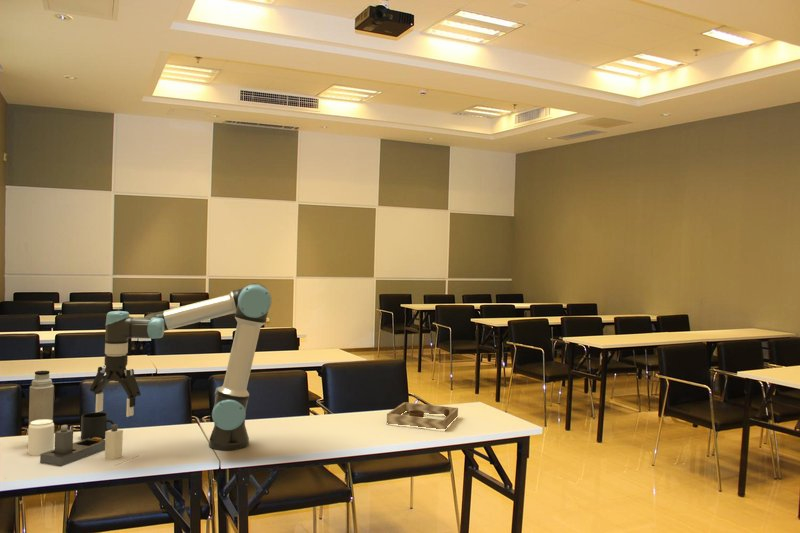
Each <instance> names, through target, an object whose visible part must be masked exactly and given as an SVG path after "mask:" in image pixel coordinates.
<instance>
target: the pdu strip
mask: <svg viewBox="0 0 800 533" xmlns="http://www.w3.org/2000/svg"><path fill="white" fill-rule="evenodd" d="M54 450H55V448H54ZM54 450H51V451H48V452H45V453H42V454H40V455H39V457H40V458H39V459H40V460H39V461H40V462H39V463H40V464H44V465H50V466H58V467H63V466H66V465H68V464H70V463H73V462H77V461H79V460H81V459H85V458H88V457H89V456H93V455H95V454H99V453H101V452H103V451H104V452H105V439H102V438H97V437H94V438H87V439H84V440H82V439H81V440H78V441H75V442H73V452H70V453H67V454H64V455H62V454H56V453H54Z"/></svg>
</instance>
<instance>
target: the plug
mask: <svg viewBox="0 0 800 533" xmlns="http://www.w3.org/2000/svg"><path fill="white" fill-rule="evenodd" d="M110 426H111V427H110V428H111V430H108V431H106V432H105V438H104V440H105V450H104V458H105V459H110V460H115V459H118V458H120V457H122V456H123V438H124V436H123V435H124V434H123V433H124V430H123V429H121V428H120V429H119V428H118V424H115V423H114V425H112V424H111V425H110Z"/></svg>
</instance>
